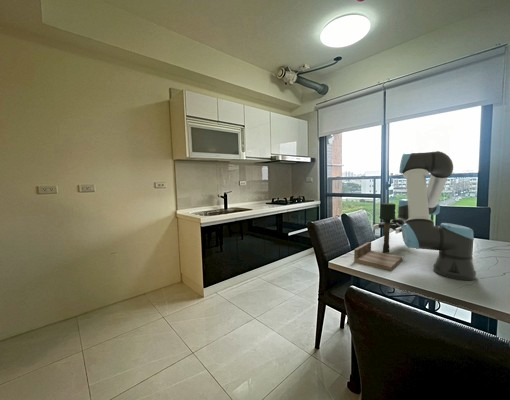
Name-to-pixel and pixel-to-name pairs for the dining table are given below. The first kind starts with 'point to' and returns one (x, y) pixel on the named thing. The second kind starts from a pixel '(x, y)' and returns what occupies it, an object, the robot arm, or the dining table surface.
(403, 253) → the dining table surface
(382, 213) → the stick grenade
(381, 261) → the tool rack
